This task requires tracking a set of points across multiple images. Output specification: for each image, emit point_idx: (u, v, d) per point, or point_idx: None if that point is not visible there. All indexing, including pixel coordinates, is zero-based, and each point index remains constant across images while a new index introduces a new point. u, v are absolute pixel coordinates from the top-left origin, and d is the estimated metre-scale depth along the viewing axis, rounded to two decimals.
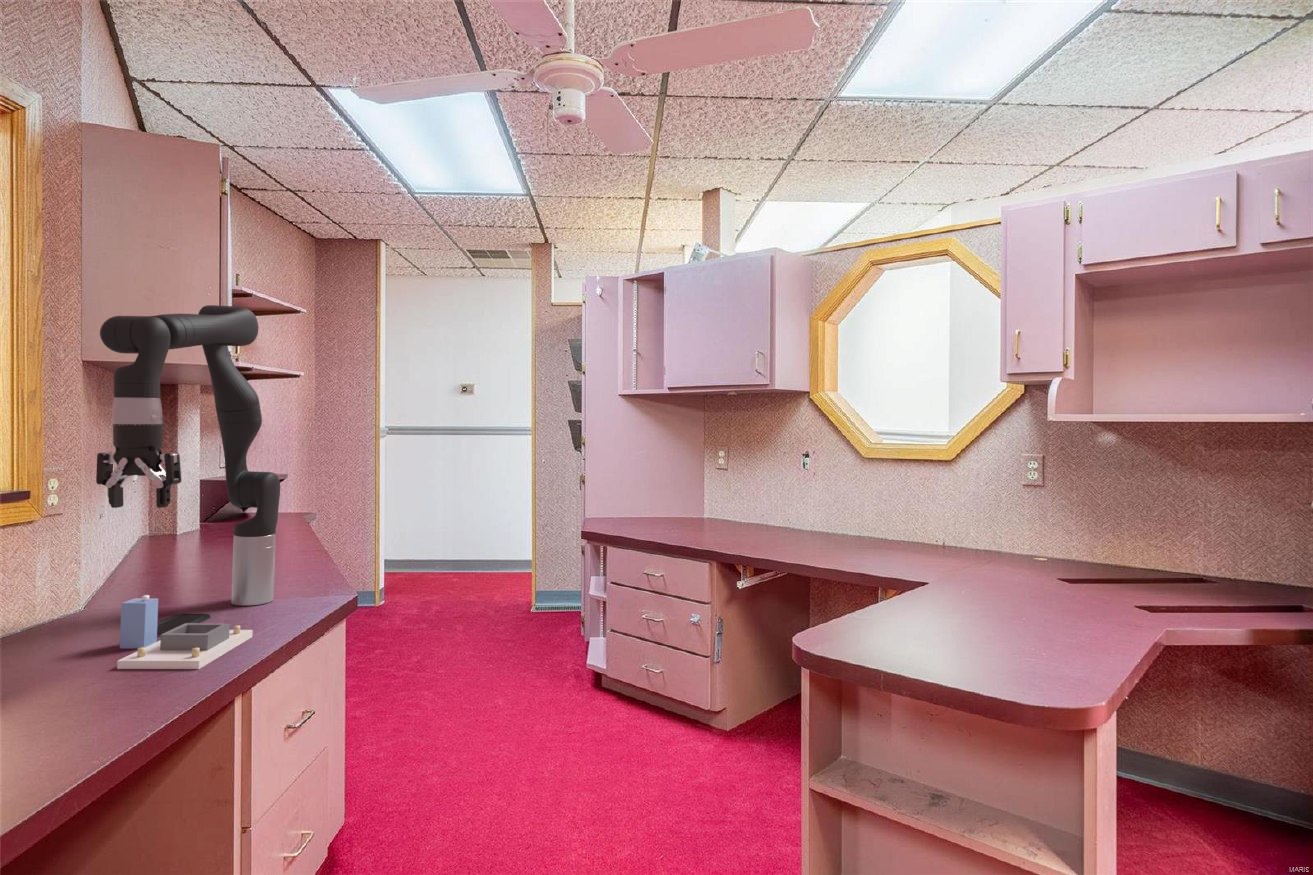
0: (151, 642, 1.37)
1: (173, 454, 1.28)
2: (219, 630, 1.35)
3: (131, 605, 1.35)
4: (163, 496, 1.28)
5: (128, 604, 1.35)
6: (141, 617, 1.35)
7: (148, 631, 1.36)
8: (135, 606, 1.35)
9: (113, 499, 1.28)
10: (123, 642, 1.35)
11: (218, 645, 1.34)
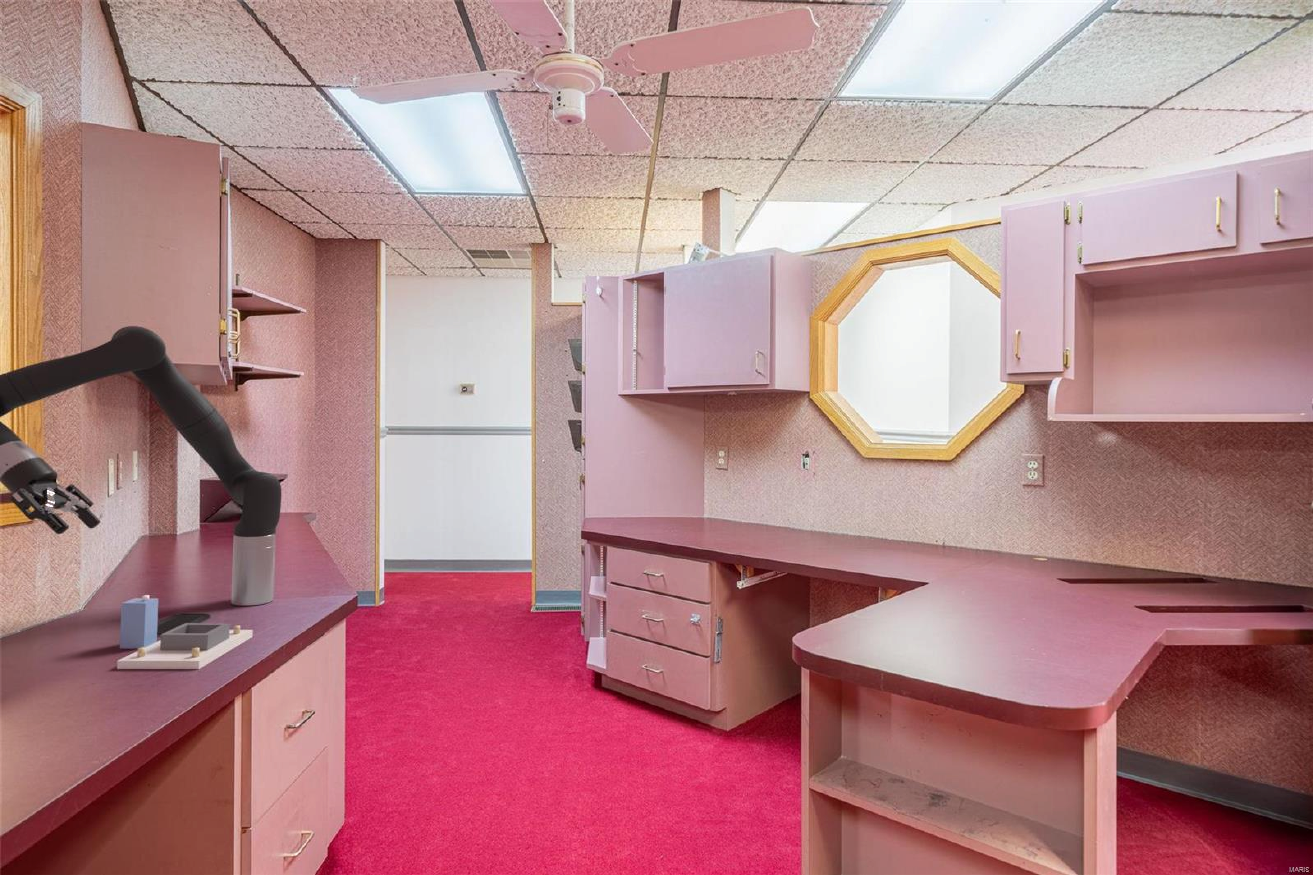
0: (151, 642, 1.37)
1: (13, 495, 1.28)
2: (219, 630, 1.35)
3: (131, 605, 1.35)
4: None
5: (128, 604, 1.35)
6: (141, 617, 1.35)
7: (148, 631, 1.36)
8: (135, 606, 1.35)
9: None
10: (123, 642, 1.35)
11: (218, 645, 1.34)
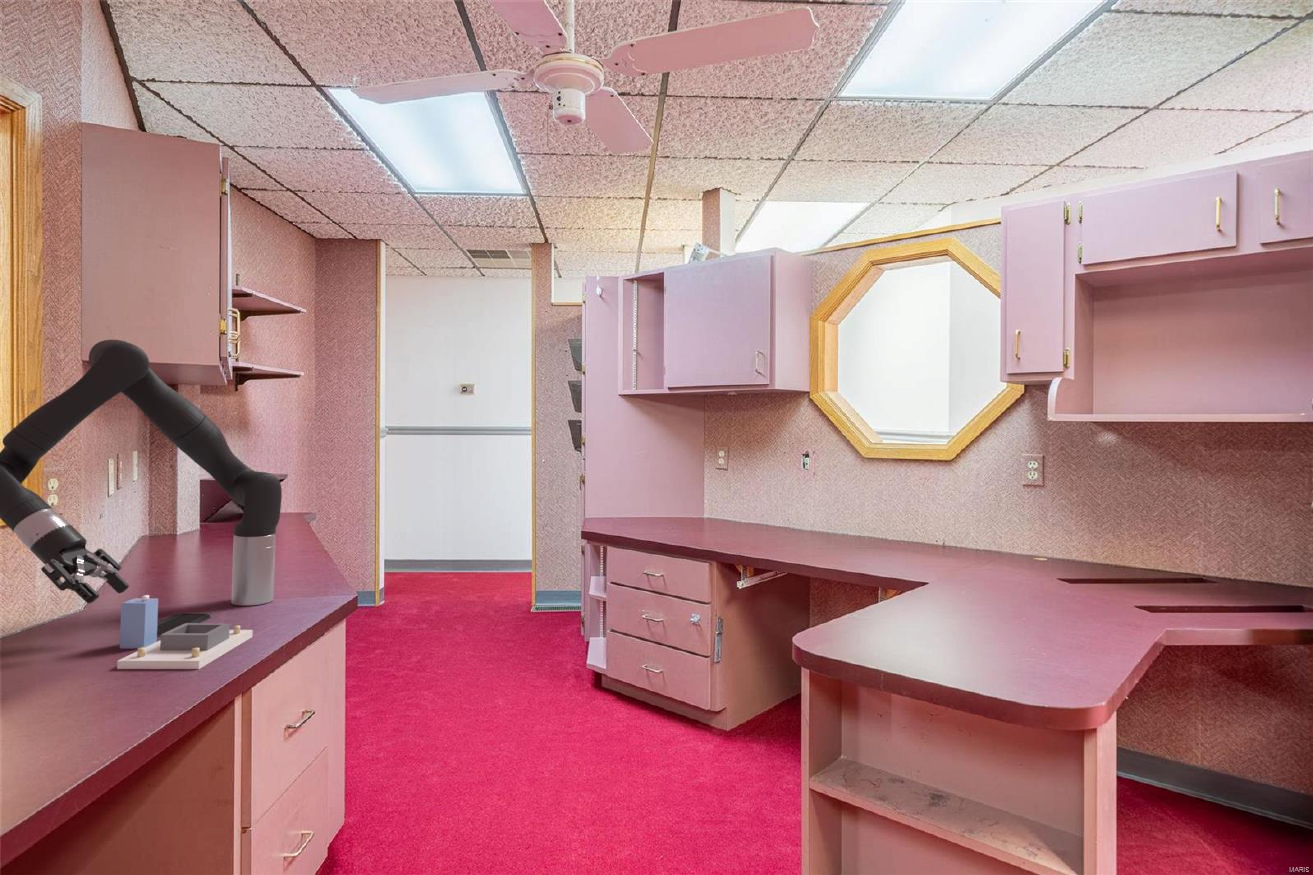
0: (151, 642, 1.37)
1: (45, 566, 1.29)
2: (219, 630, 1.35)
3: (131, 605, 1.35)
4: None
5: (128, 604, 1.35)
6: (141, 617, 1.35)
7: (148, 631, 1.36)
8: (135, 606, 1.35)
9: None
10: (123, 642, 1.35)
11: (218, 645, 1.34)
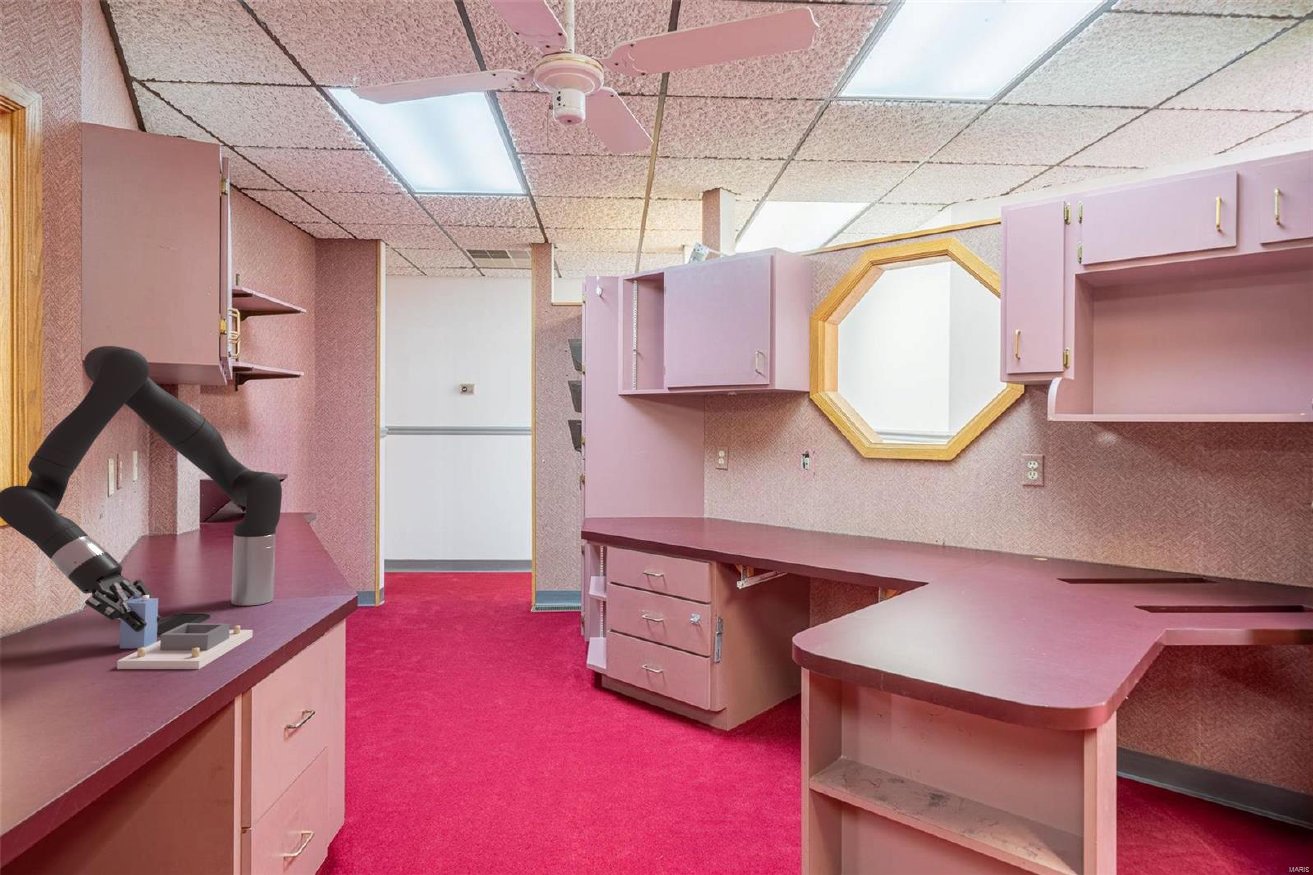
0: (151, 642, 1.37)
1: (89, 600, 1.30)
2: (219, 630, 1.35)
3: (131, 605, 1.35)
4: None
5: (128, 604, 1.35)
6: (141, 617, 1.35)
7: (148, 631, 1.36)
8: (134, 606, 1.35)
9: None
10: (123, 642, 1.35)
11: (218, 645, 1.34)
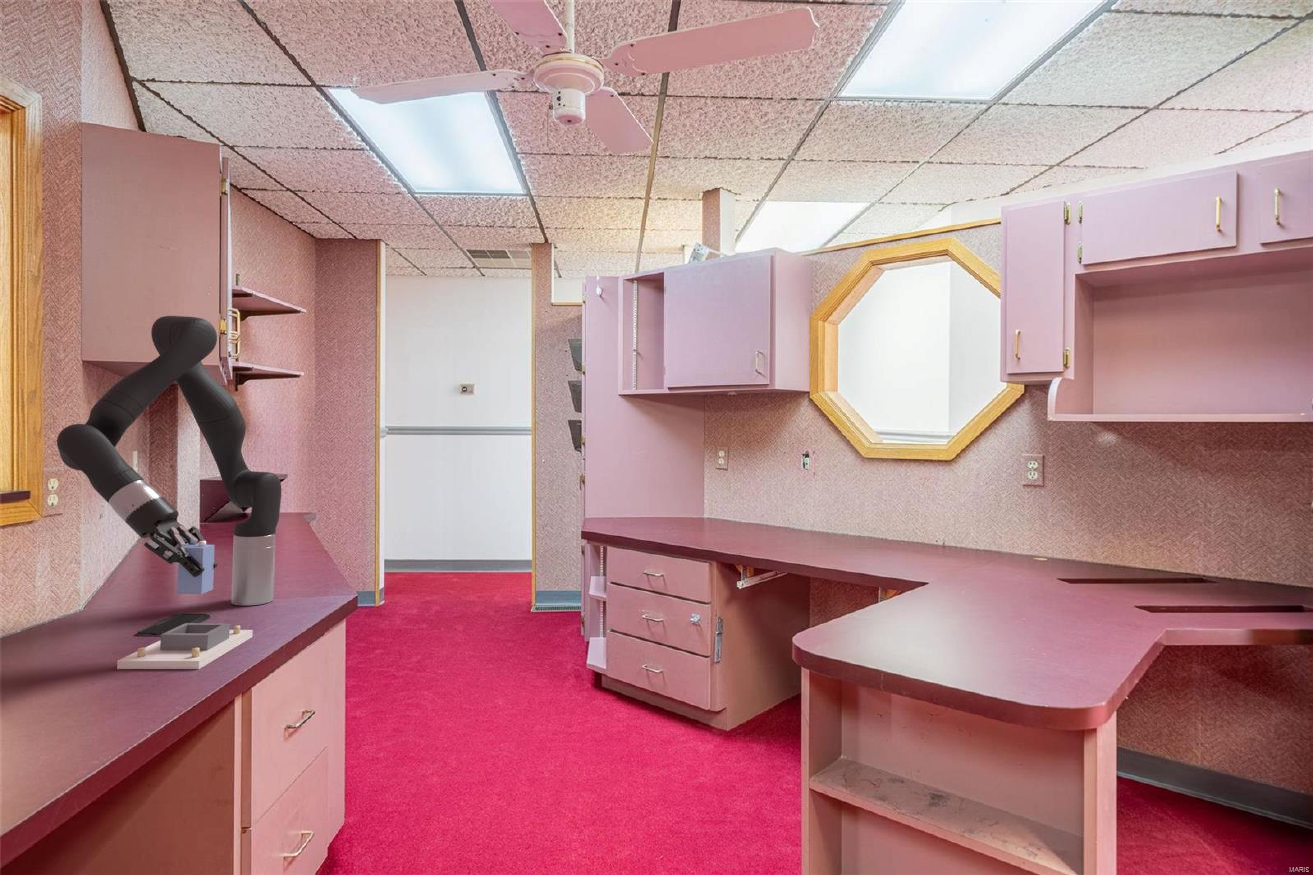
0: (208, 588, 1.35)
1: (148, 542, 1.27)
2: (219, 630, 1.35)
3: (188, 550, 1.32)
4: None
5: None
6: (199, 562, 1.32)
7: (205, 577, 1.33)
8: (192, 551, 1.32)
9: None
10: (181, 588, 1.32)
11: (218, 645, 1.34)
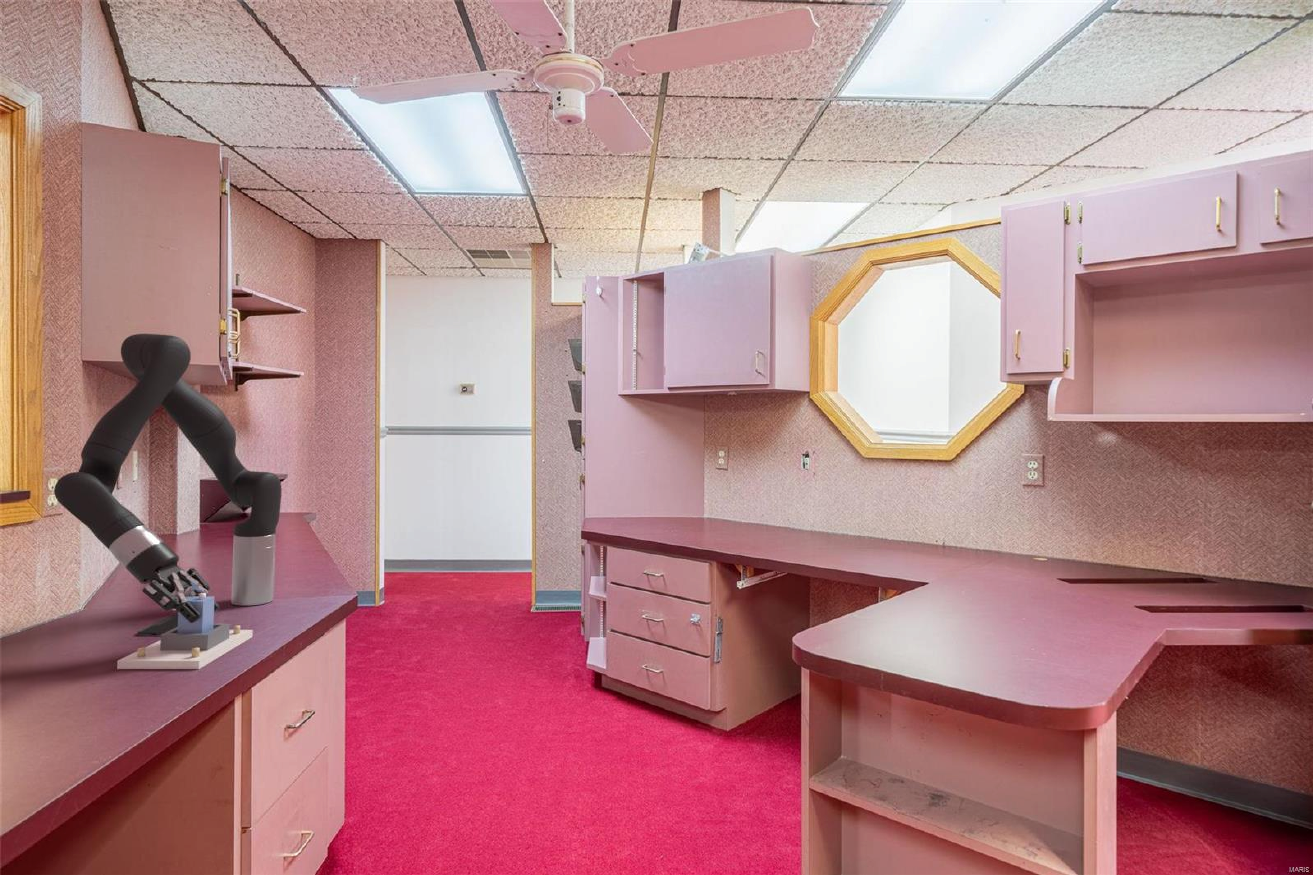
0: None
1: (146, 587, 1.27)
2: (219, 630, 1.35)
3: None
4: None
5: None
6: None
7: (205, 630, 1.33)
8: (192, 604, 1.32)
9: None
10: None
11: (218, 645, 1.34)
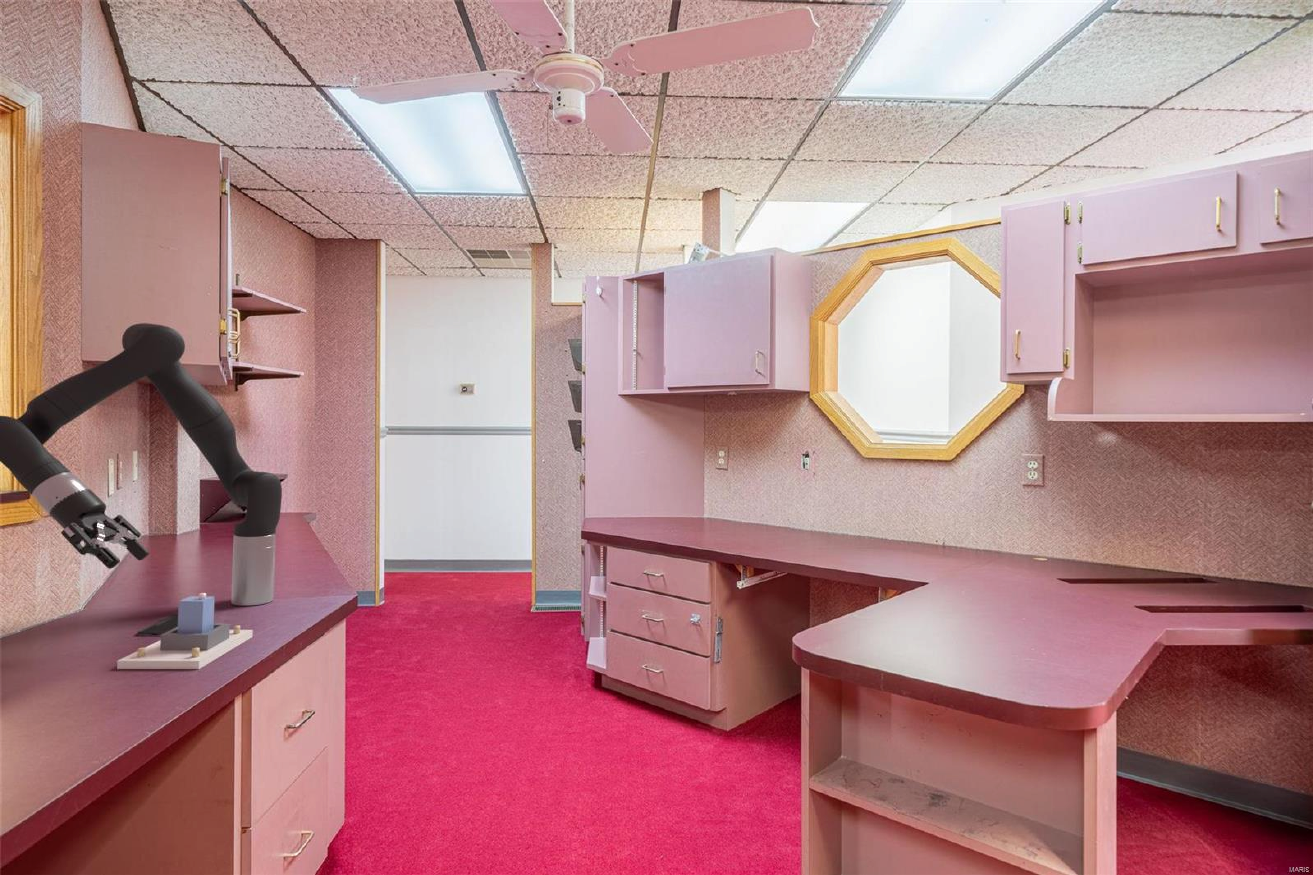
0: None
1: (65, 529, 1.25)
2: (219, 630, 1.35)
3: (188, 603, 1.32)
4: None
5: (185, 602, 1.32)
6: (199, 615, 1.32)
7: (205, 630, 1.33)
8: (192, 604, 1.32)
9: None
10: None
11: (218, 645, 1.34)
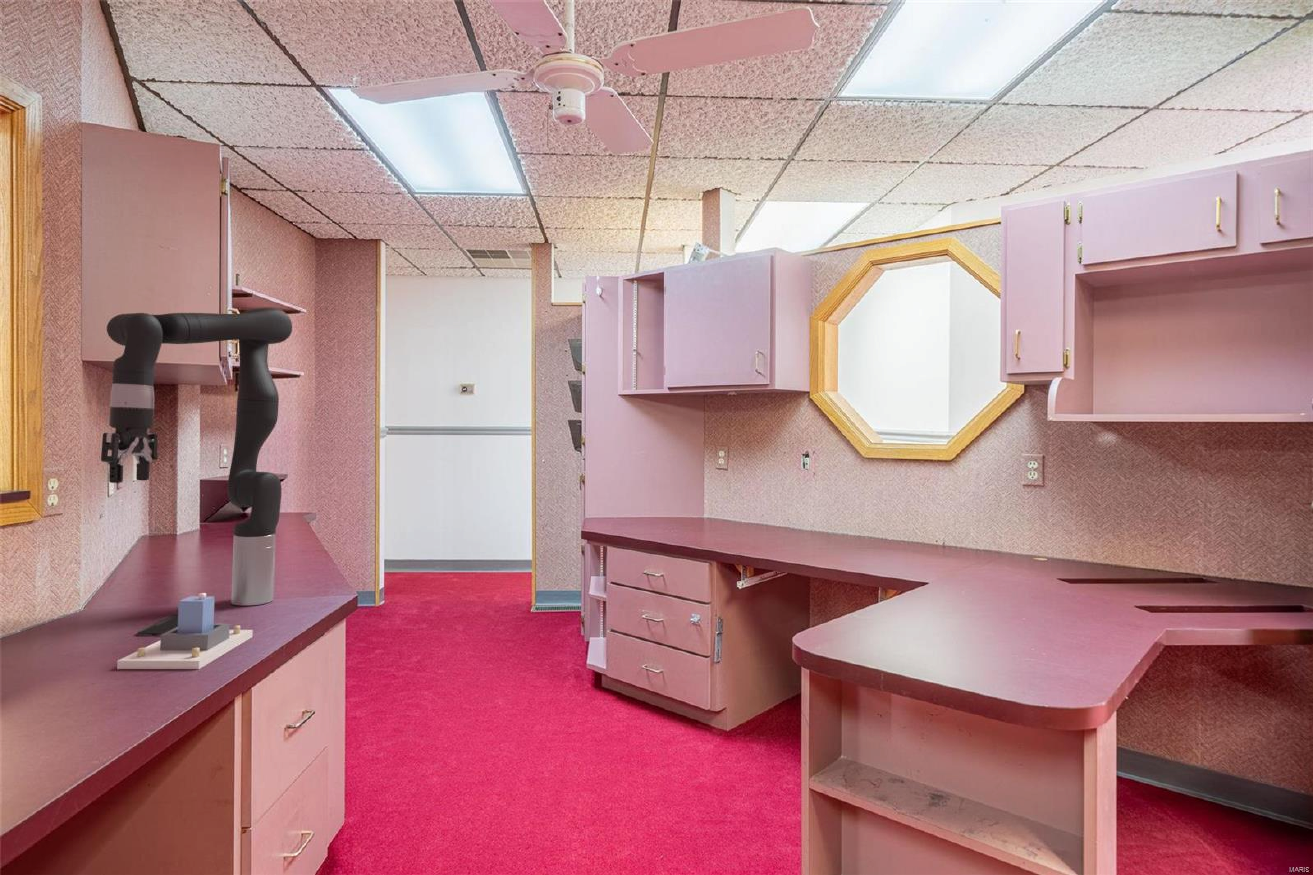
0: None
1: (108, 434, 1.39)
2: (219, 630, 1.35)
3: (188, 603, 1.32)
4: None
5: (185, 602, 1.32)
6: (199, 615, 1.32)
7: (205, 630, 1.33)
8: (192, 604, 1.32)
9: None
10: None
11: (218, 645, 1.34)
